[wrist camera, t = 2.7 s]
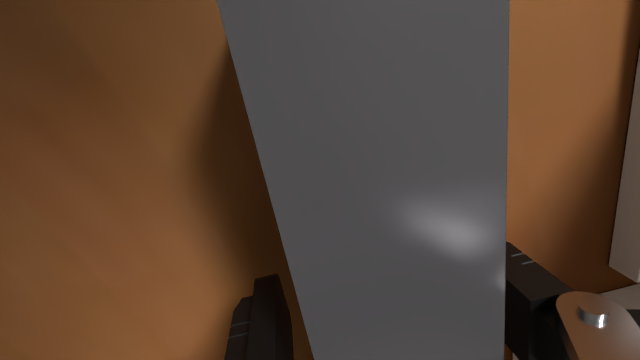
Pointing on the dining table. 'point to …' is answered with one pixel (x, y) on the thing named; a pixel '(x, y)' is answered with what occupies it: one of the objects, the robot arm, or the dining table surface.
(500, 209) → the gray bar
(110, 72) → the dining table surface
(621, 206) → the display stand
